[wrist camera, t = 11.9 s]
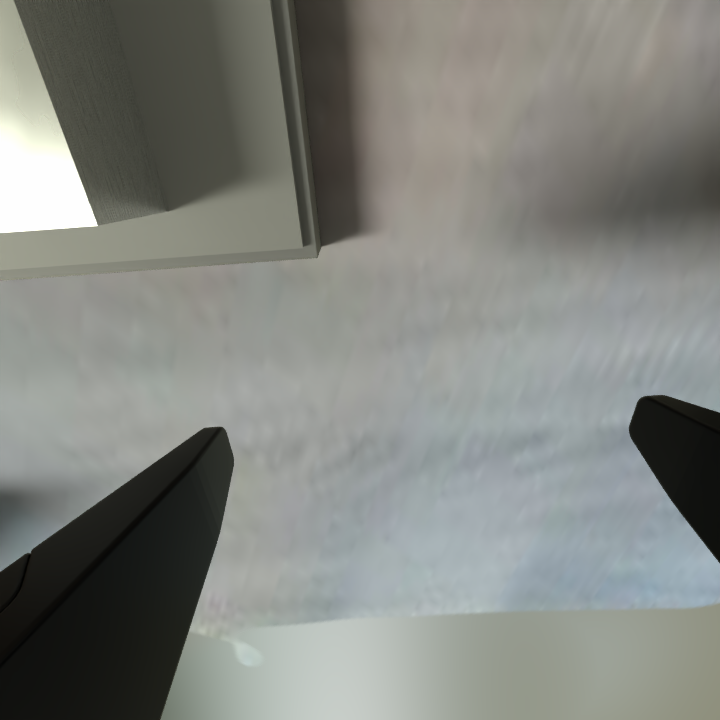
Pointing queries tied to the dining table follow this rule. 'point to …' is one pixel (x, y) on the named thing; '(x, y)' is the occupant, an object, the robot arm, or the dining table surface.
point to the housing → (70, 120)
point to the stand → (202, 146)
